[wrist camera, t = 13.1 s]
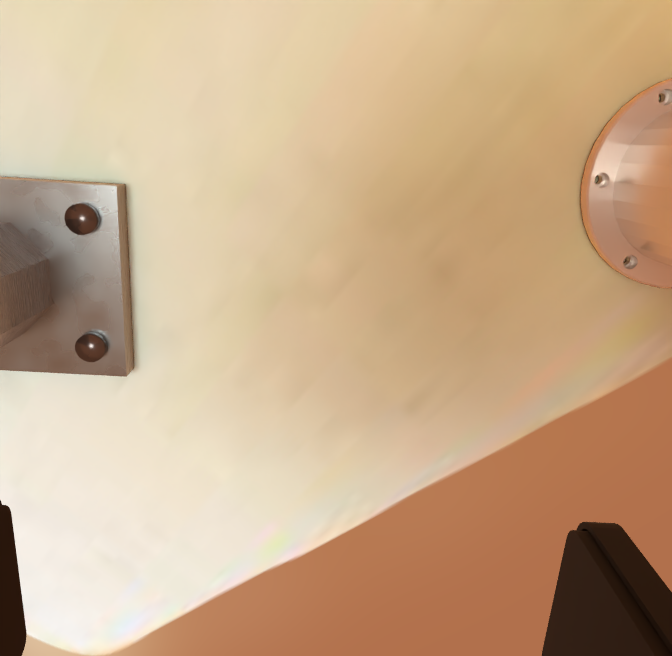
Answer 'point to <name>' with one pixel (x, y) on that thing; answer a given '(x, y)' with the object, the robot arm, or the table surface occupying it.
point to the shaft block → (74, 276)
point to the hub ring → (21, 283)
